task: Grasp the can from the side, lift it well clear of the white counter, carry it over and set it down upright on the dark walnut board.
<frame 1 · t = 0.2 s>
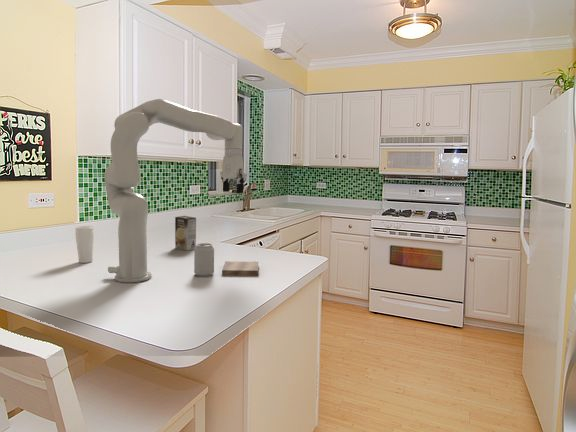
hand: (232, 192, 169), 31 cm above the worktop, tool pointing down, fingers open, 9 cm apart
can: (204, 274, 150), on the worktop
walnut board: (241, 270, 157), on the worktop
coffee box: (185, 248, 196), on the worktop
drinking glass: (85, 262, 163), on the worktop
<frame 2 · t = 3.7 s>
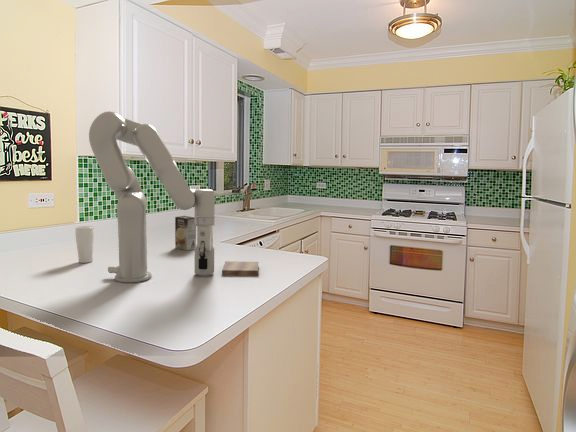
hand: (204, 265, 150), 3 cm above the worktop, tool pointing down, fingers closed on can, 7 cm apart
can: (204, 274, 150), on the worktop, touching gripper
everything else where it was.
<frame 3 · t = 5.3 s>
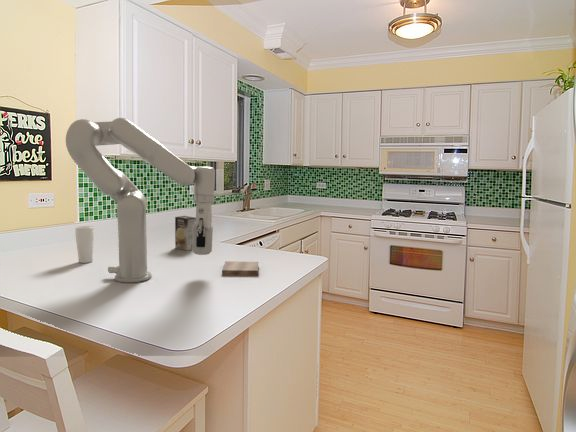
hand: (202, 244, 149), 12 cm above the worktop, tool pointing down, fingers closed on can, 7 cm apart
can: (201, 253, 149), point 8 cm above the worktop, touching gripper
everything else where it was.
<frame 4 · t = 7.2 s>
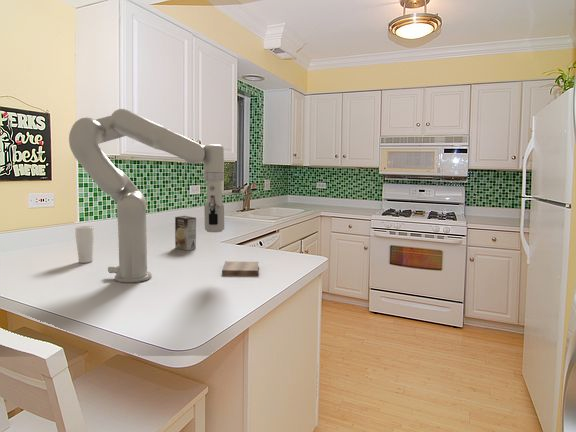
hand: (214, 222, 150), 20 cm above the worktop, tool pointing down, fingers closed on can, 7 cm apart
can: (214, 231, 150), point 17 cm above the worktop, touching gripper
everything else where it was.
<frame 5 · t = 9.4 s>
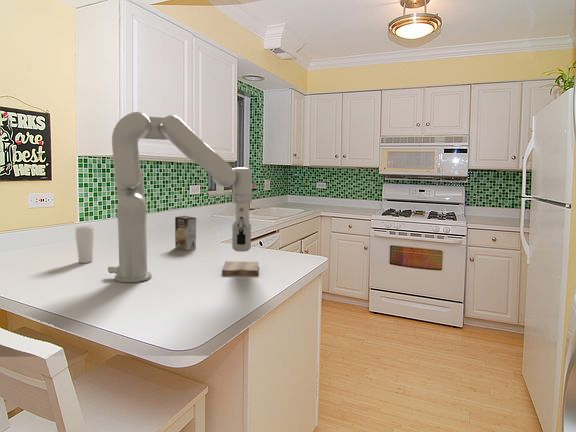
hand: (241, 242, 156), 12 cm above the worktop, tool pointing down, fingers closed on can, 7 cm apart
can: (241, 250, 156), point 8 cm above the worktop, touching gripper
everything else where it was.
when the fingers open (7 cm above the worktop, at t = 11.0 s): can drops 1 cm, resting on walnut board.
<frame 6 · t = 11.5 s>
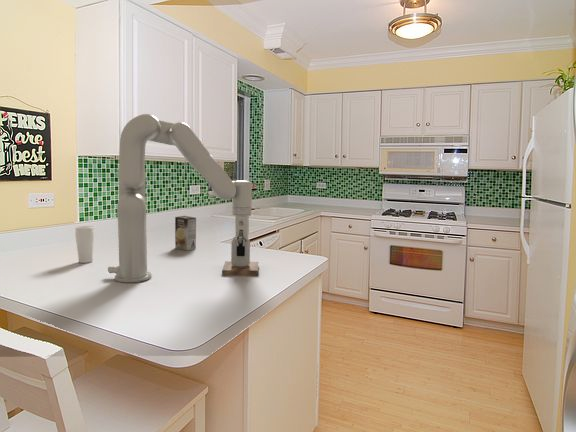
hand: (241, 253, 156), 7 cm above the worktop, tool pointing down, fingers open, 9 cm apart
can: (240, 266, 157), point 2 cm above the worktop, touching walnut board
everything else where it was.
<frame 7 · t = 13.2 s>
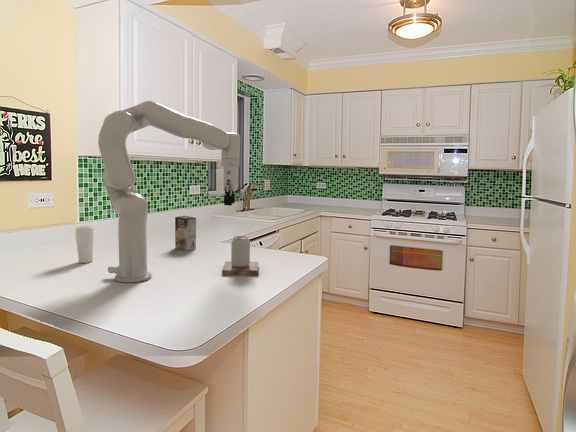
hand: (229, 204, 162), 26 cm above the worktop, tool pointing down, fingers open, 9 cm apart
nothing on the worktop moved.
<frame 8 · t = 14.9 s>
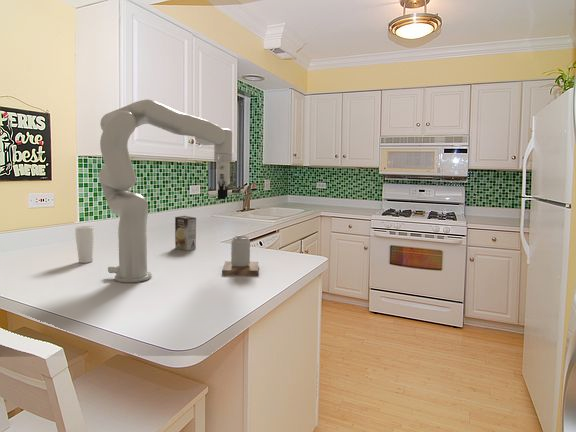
hand: (222, 198, 167), 28 cm above the worktop, tool pointing down, fingers open, 9 cm apart
nothing on the worktop moved.
at the end: can inside the target area on the walnut board (0.2 cm from its centre), point 1.8 cm above the walnut board's base; can tilted 0°; the gripper is holding nothing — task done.
